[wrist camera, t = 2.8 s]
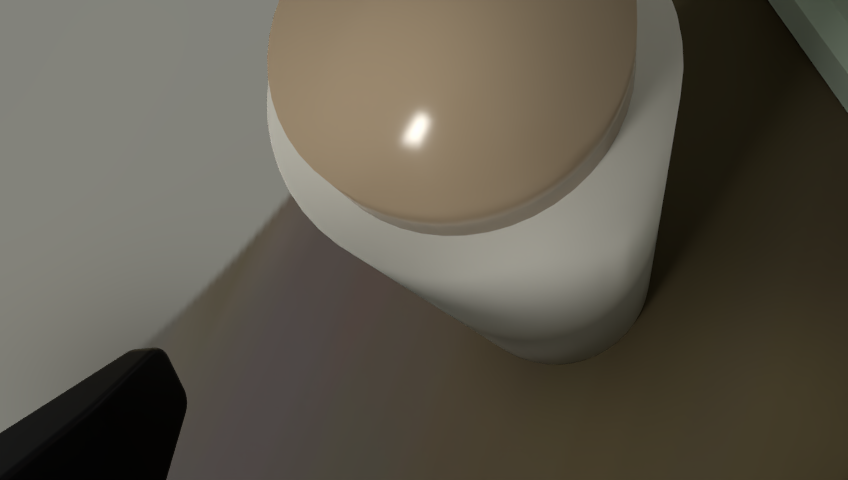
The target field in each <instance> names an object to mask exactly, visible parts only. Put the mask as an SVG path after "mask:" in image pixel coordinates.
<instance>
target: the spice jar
mask: <svg viewBox="0 0 848 480" xmlns="http://www.w3.org/2000/svg"><path fill="white" fill-rule="evenodd" d="M267 59H268V60H267V61H268V80H269V84H268V94H267V116H268V128H269V134H270V140H271V146H272V149H273V153H274V156H275V159H276V162H277V165H278V169H279V171H280V173H281V175H282V177H283V179H284V181H285V183H286V186H287V188H288V190H289V192H290V193H291V195H292V196H293V197H294V199H295V200H296V202H297V203H298V205H299V206H300V208H301V209H302V211H303V212H304V213H305V214H306V215H307V216H308V218H309V219H310V220H311V221H312V222H313V223H314V224H315V225H316V226H317V228H318V229H319V230H321V231H322V232H323V233H324V234H325V235H327V236H328V237H329V238H330V239H332V240H333V241H334V242H335V243H336V244H338V245H339V246H341V247H342V248H344V249H345V250H347V251H348V252H350V253H352V254H353V255H355V256H356V257H358V258H360V259H361V260H363V261H364V262H366V263H368V264H369V265H371V266H372V267H374V268H375V269H377V270H379V271H380V272H382V273H383V274H385V275H387V276H388V277H390V278H391V279H393V280H394V281H396V282H398V283H399V284H401V285H402V286H404V287H406V288H407V289H409V290H410V291H412V292H414V293H415V294H417V295H418V296H420V297H421V298H423V299H425V300H426V301H428V302H429V303H431V304H433V305H434V306H436V307H437V308H439V309H440V310H442V311H444V312H445V313H447V314H448V315H450V316H452V317H453V318H455V319H456V320H458V321H460V322H461V323H463V324H464V325H466V326H467V327H469V328H471V329H472V330H474V331H475V332H477V333H479V334H480V335H482V336H483V337H485V338H487V339H488V340H490V341H491V342H493V343H494V344H496V345H498V346H499V347H501V348H502V349H504V350H506V351H507V352H509V353H511V354H513V355H515V356H517V357H520V358H522V359H525V360H528V361H532V362H536V363H542V364H568V363H574V362H578V361H583V360H586V359H588V358H591V357H594V356H596V355H598V354H600V353H602V352H603V351H605V350H607V349H608V348H610V347H611V346H612V345H614V344H615V343H617V342H618V341H619V340H620V339H621V338H622V337H623V336H624V335H625V334H626V333H627V332H628V330H629V329H630V328H631V327H632V325H633V324H634V323H635V321H636V319H637V318H638V316H639V314H640V312H641V310H642V308H643V305H644V303H645V300H646V296H647V292H648V288H649V282H650V276H651V270H652V264H653V258H654V252H655V246H656V240H657V234H658V228H659V222H660V216H661V210H662V204H663V198H664V192H665V186H666V180H667V174H668V168H669V162H670V156H671V150H672V144H673V138H674V132H675V126H676V120H677V114H678V108H679V102H680V96H681V86H682V77H683V45H682V37H681V32H680V26H679V21H678V16H677V13H676V10H675V7H674V5H673V2H672V0H279V3H278V6H277V8H276V11H275V14H274V18H273V23H272V27H271V31H270V35H269V45H268V55H267Z"/></svg>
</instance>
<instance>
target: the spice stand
mask: <svg viewBox="0 0 848 480" xmlns="http://www.w3.org/2000/svg"><path fill="white" fill-rule="evenodd" d="M768 1H769V2H770V4H771V5H772V7H773V8H774V9H775V11H776V12H777V14H778V15H779V17H780V18H781V19H782V21H783V22H784V24H785V25H786V26H787V28H788V29H789V31H790V32H791V33H792V35H793V36H794V38H795V39H796V41H797V42H798V43H799V45H800V46H801V48H802V49H803V50H804V52H805V53H806V55H807V56H808V57H809V59H810V60H811V62H812V63H813V64H814V66H815V67H816V69H817V70H818V72H819V73H820V74H821V76H822V77H823V79H824V80H825V81H826V83H827V84H828V86H829V87H830V88H831V90H832V91H833V93H834V94H835V96H836V97H837V98H838V100H839V101H840V103H841V104H842V105H843V107H844V108H845V110H846V111H847V112H848V0H768Z"/></svg>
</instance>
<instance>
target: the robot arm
mask: <svg viewBox="0 0 848 480" xmlns="http://www.w3.org/2000/svg"><path fill="white" fill-rule="evenodd" d="M186 409H187V397H186V393H185V390H184V388H183V386H182V384H181V382H180V380H179V378H178V376H177V374H176V372H175V370H174V368H173V366H172V364H171V362H170V359H169V357H168V356H167V354H166V353H165V352H164V351H163V350H162V349H159V348H144V349H134V350H131V351H129V352H127V353H125V354H124V355H122V356H120V357H119V358H117V359H116V360H114V361H113V362H111V363H110V364H108V365H106V366H105V367H103V368H102V369H100V370H99V371H97V372H95V373H94V374H92V375H91V376H89V377H88V378H86V379H84V380H83V381H81V382H80V383H78V384H77V385H75V386H74V387H72V388H70V389H69V390H67V391H66V392H64V393H62V394H61V395H60V396H58V397H56V398H55V399H53V400H52V401H50V402H49V403H47V404H45V405H44V406H42V407H40V408H39V409H37V410H36V411H34V412H33V413H31V414H30V415H28V416H27V417H25V418H23V419H22V420H20V421H18V422H17V423H16V424H14V425H12V426H11V427H9V428H8V429H6V430H4V431H3V432H1V433H0V480H166V478H167V475H168V472H169V468H170V465H171V461H172V458H173V454H174V451H175V448H176V444H177V441H178V437H179V434H180V430H181V427H182V423H183V420H184V417H185V413H186Z"/></svg>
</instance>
